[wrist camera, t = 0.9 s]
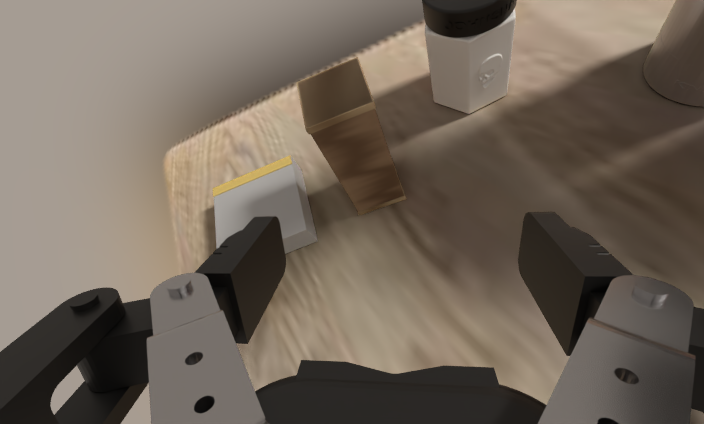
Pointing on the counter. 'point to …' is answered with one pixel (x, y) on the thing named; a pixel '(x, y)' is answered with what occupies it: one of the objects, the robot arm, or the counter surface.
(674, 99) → the robot arm
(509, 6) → the jar
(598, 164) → the counter surface
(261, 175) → the notepad
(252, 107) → the counter surface
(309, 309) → the counter surface
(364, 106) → the tall brown wooden box
